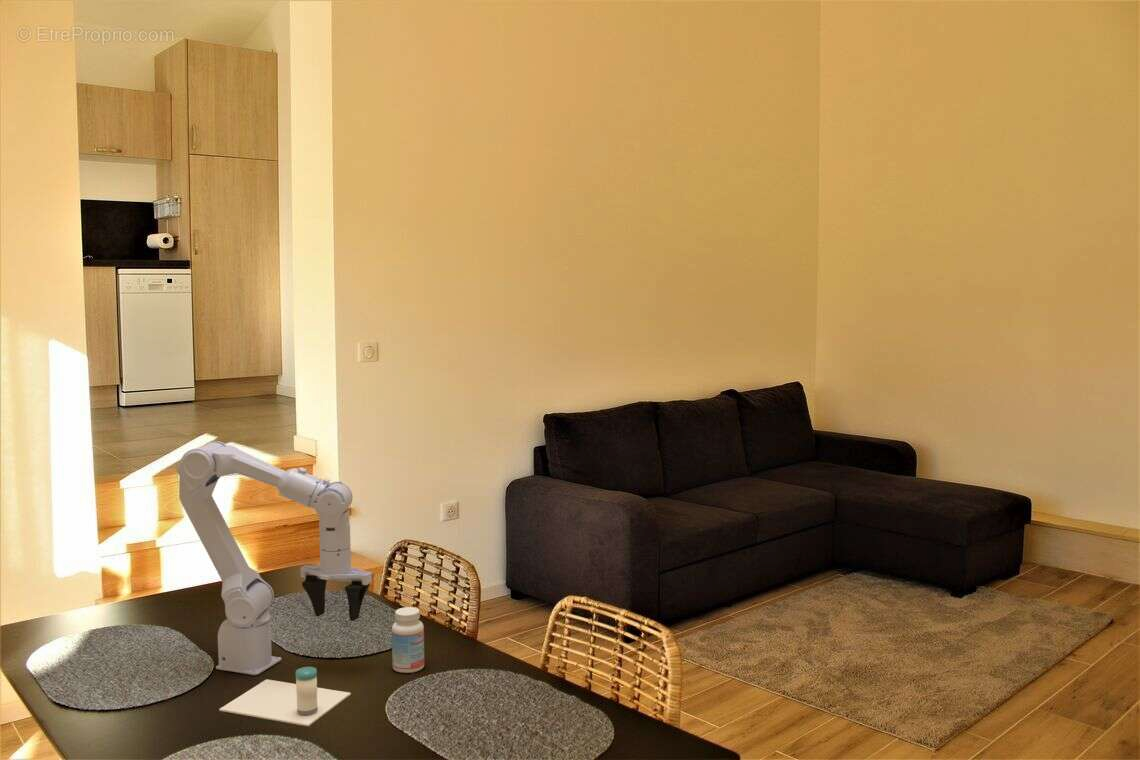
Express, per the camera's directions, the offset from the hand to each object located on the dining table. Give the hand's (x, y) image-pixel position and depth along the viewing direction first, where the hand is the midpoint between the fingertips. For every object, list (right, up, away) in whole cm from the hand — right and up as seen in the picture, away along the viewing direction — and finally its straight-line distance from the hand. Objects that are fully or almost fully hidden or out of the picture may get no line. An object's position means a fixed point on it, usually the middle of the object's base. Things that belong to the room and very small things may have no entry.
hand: (337, 616), depth 181 cm
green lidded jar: (-1, -12, -19) cm, 22 cm away
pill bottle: (+14, -10, +1) cm, 17 cm away
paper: (-5, -12, -14) cm, 19 cm away
